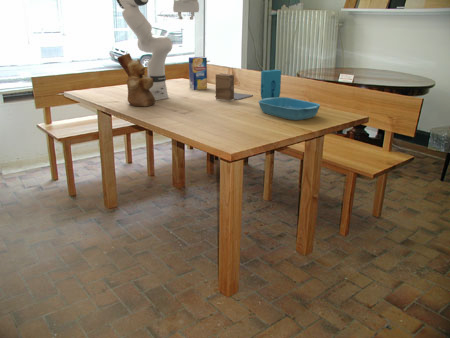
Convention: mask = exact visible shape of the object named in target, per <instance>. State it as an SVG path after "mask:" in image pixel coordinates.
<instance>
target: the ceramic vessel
mask: <svg viewBox="0 0 450 338" xmlns="http://www.w3.org/2000/svg"><path fill="white" fill-rule="evenodd" d="M116 59H117V61H118V63H119V65H120V66H121V67H122V69H123V70H124V72H125V73H126V76H128V78H127V80H126V86H127V102H128V103H129V104H130V105H131V106H134V107H149V106H153V105H154V104H155V101H156V100H155V98H154V96H153V95H152V93H151V92H150V90H149V89H150V88H151V87H152V86H153V79H152V78H150V77H147V75H148V74H145V72H146V71H145V70H146V68H145V67H144V65H143V64H142V63H141V60H140V58H137V60H133V58H132V56H131V54H130V53H126V54H123V55H119V56H118V57H117V58H116Z"/></svg>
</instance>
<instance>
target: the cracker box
mask: <svg viewBox="0 0 450 338" xmlns="http://www.w3.org/2000/svg"><path fill="white" fill-rule="evenodd" d="M207 58H208V57H206V56H205V57H204V56H192V57H191V56H190V57H188V75H189V76H188V77H189V78H188V80H189V89H191V90H193V91H194V90H195V91H196V90H204V89H208V72H207V71H208V66H207V65H208V63H207V60H208V59H207Z"/></svg>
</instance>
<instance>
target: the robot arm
mask: <svg viewBox="0 0 450 338" xmlns="http://www.w3.org/2000/svg"><path fill="white" fill-rule="evenodd" d="M116 2H117V4H118V5H119V8H121V9H122V15H121V16H122V17H123V19H124V21H125V23H126V25H128V27H129V29H130V30H131V31H132V32H133V34H135V36H136V38H137V47H138V49H139V50H140V51H142V52H144V53H147V54H148V53H149V54H151V58H150V60H148V61H147V65H146V67H147V69H146V71H147V74H146V75H147V77H150V78H152V79H153V86H152V87H151V88H150V89H149V90H150V92H151V93H152V95H153V96H154V98H155V101H158V100H166V99H169V98H170V97H169V94H168V93H169V92H168V89H167V88H168V87H167V83H166V81H167V77H166V74H165V71H166V67H165V64H166V59H167V56H168V54H169V53H170V52H171V51H172V49H173V41H172V39H171V38H170V37H168V36H165V35H155V34H153V33H152V29H153V27H152V24H151V23H150V21H149V20H148V19H147V17H146V16H145V15H144V14H143V13H142V11H141V10H140V7H142V6H145V5H147V4H148V2H149V0H116ZM172 10H173V12H174V13H177V16H178V20H183V19H184V18H183V16H182V13H190V14H191V15H190V16H189V20H190V21H191V20H194V16H195V13H199V12H200V3H199V0H173V7H172Z"/></svg>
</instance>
